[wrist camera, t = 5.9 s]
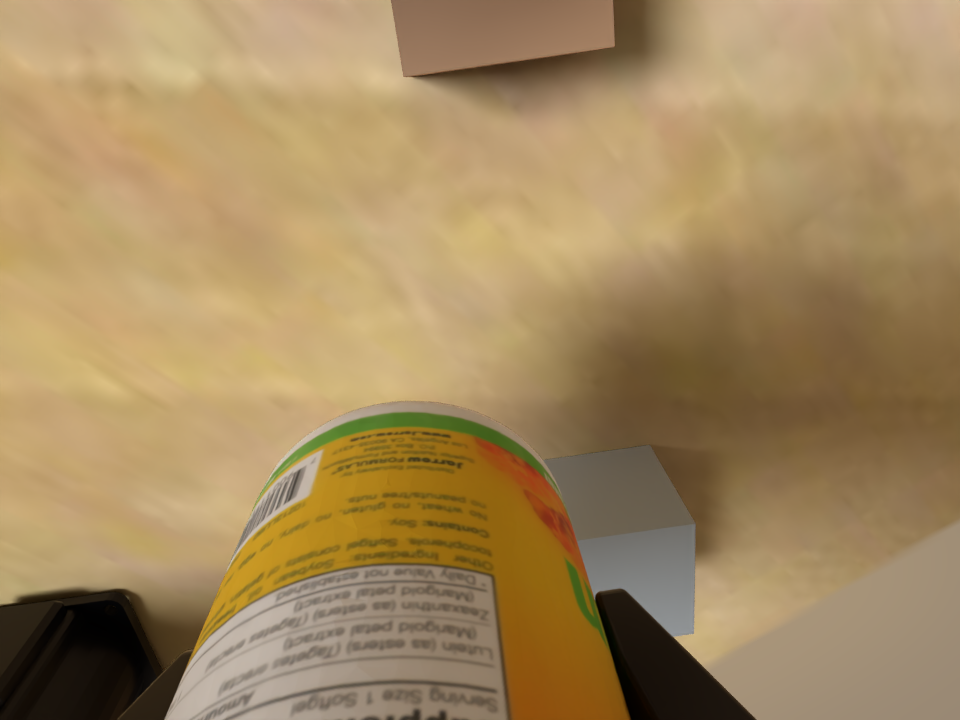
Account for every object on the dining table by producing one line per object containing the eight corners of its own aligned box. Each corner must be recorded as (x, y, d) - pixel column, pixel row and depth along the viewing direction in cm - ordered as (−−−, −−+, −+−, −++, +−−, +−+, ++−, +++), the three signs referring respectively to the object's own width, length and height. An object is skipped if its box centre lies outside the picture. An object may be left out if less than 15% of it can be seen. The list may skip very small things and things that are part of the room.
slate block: (650, 541, 25) (693, 633, 21) (537, 557, 25) (556, 653, 21) (648, 443, 23) (695, 523, 19) (525, 461, 23) (545, 545, 19)
